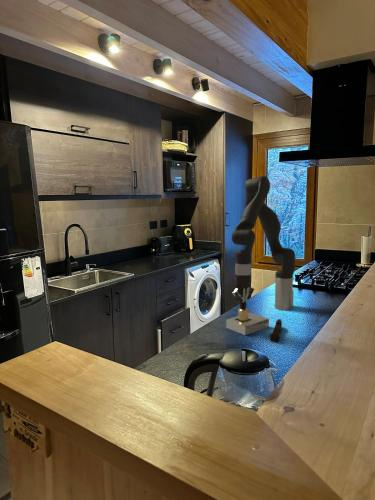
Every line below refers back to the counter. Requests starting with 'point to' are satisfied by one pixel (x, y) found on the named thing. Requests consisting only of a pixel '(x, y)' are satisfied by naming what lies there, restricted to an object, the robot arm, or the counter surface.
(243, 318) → the bushing
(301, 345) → the counter surface
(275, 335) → the hand tool
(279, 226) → the robot arm
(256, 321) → the block
